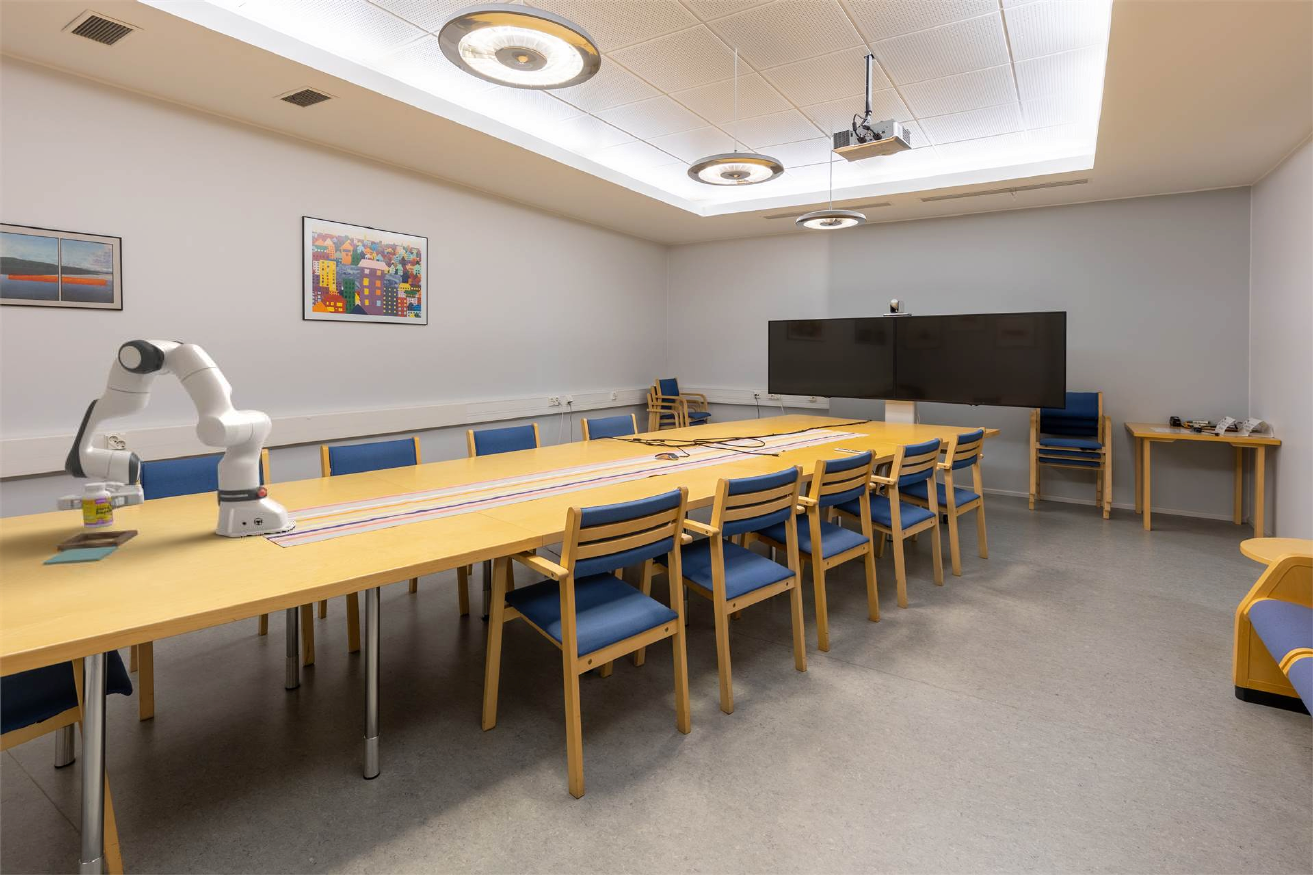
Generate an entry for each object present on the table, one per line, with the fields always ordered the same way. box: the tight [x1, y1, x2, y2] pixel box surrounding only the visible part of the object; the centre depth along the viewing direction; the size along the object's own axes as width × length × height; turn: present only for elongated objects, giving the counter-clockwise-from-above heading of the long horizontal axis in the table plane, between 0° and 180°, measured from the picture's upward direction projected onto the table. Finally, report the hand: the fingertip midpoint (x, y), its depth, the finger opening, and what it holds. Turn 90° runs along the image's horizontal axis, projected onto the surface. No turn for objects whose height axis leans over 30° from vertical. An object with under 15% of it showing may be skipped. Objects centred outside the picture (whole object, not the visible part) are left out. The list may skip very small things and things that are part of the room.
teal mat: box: [42, 546, 120, 565], centre depth 178 cm, size 12×12×1 cm
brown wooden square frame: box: [56, 529, 139, 552], centre depth 191 cm, size 14×14×2 cm
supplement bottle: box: [81, 482, 114, 529], centre depth 190 cm, size 7×7×13 cm
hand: (96, 505), depth 189 cm, fingers closed on supplement bottle, 7 cm apart
